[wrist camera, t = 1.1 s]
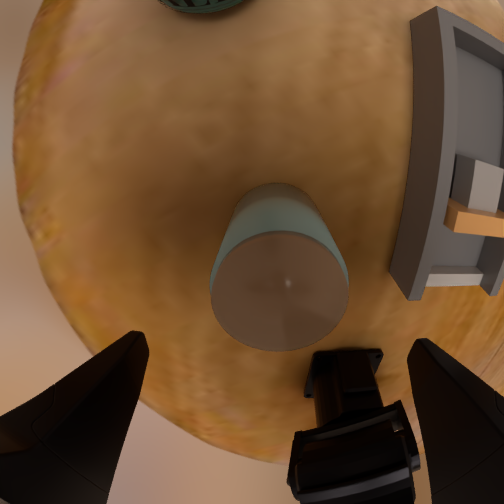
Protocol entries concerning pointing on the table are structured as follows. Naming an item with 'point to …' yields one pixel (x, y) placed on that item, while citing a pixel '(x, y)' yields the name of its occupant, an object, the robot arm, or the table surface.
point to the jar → (278, 272)
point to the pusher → (475, 199)
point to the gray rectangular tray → (450, 153)
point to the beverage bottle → (200, 5)
